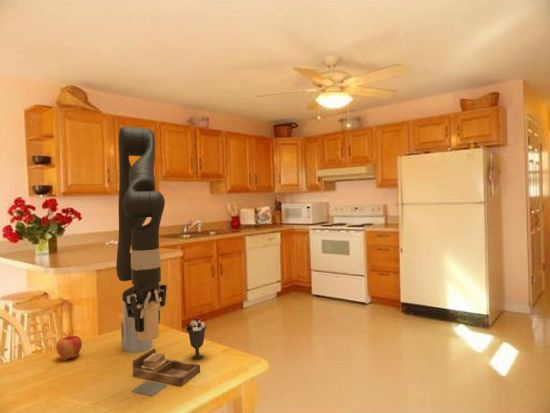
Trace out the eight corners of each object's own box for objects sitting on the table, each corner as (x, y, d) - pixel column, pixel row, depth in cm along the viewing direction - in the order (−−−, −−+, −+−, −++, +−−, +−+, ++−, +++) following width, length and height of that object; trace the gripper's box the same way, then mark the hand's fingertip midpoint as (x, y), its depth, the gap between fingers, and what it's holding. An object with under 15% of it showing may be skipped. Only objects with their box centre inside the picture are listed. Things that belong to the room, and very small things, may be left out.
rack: (133, 377, 111) (132, 360, 110) (154, 364, 119) (153, 348, 119) (181, 387, 104) (180, 369, 104) (200, 373, 112) (199, 356, 112)
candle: (163, 334, 105) (162, 298, 104) (150, 342, 99) (149, 304, 99) (146, 332, 106) (145, 297, 106) (133, 340, 101) (132, 302, 101)
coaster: (131, 393, 102) (131, 390, 102) (147, 382, 107) (147, 380, 107) (152, 397, 99) (152, 395, 99) (167, 387, 105) (167, 384, 105)
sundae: (210, 354, 125) (209, 309, 125) (204, 363, 119) (203, 316, 118) (190, 354, 126) (189, 309, 125) (184, 363, 119) (182, 315, 119)
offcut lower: (141, 374, 111) (141, 366, 111) (155, 365, 117) (155, 358, 117) (153, 377, 110) (153, 369, 110) (167, 368, 115) (166, 360, 115)
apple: (55, 364, 120) (54, 339, 120) (58, 355, 127) (57, 332, 126) (81, 360, 123) (80, 335, 123) (82, 351, 130) (81, 328, 129)
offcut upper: (143, 366, 111) (143, 360, 111) (153, 358, 116) (153, 353, 116) (155, 367, 110) (155, 361, 110) (164, 360, 115) (164, 354, 115)
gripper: (152, 260, 110) (154, 317, 111) (114, 269, 97) (116, 335, 98) (174, 261, 107) (175, 320, 108) (137, 271, 94) (140, 339, 95)
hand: (147, 327), depth 103 cm, fingers closed on candle, 5 cm apart
